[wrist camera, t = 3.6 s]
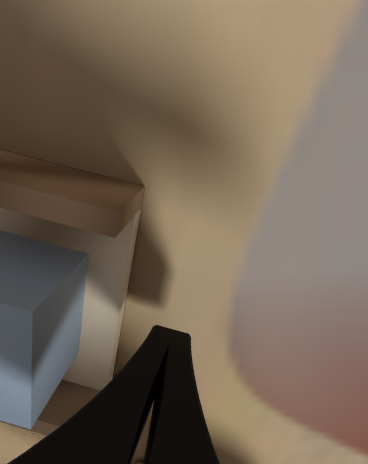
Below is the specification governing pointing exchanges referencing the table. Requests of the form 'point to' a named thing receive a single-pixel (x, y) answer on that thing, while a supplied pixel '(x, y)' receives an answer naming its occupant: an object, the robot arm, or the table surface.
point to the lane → (84, 240)
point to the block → (37, 322)
